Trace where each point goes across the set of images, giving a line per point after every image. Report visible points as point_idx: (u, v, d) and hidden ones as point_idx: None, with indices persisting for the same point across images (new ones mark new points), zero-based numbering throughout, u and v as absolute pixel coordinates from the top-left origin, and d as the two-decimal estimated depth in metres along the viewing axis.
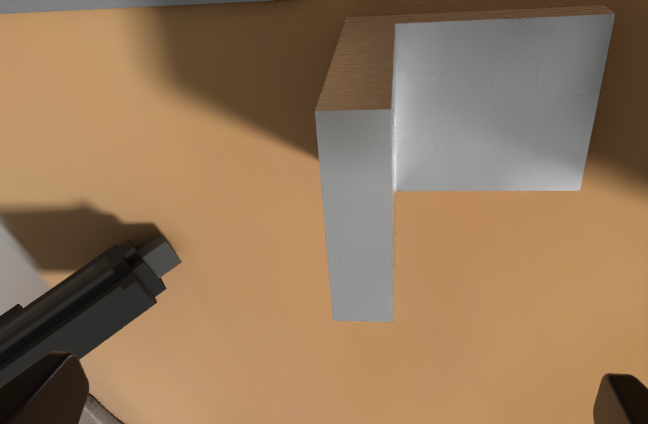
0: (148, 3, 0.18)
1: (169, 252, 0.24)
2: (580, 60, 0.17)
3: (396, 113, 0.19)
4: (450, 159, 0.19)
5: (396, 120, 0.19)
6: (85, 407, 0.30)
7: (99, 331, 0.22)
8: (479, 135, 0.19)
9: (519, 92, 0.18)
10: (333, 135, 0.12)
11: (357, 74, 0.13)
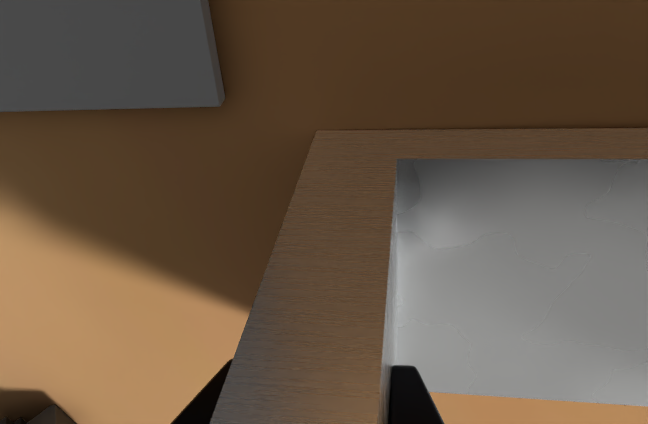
0: None
1: None
2: None
3: (398, 289, 0.11)
4: (486, 354, 0.12)
5: (398, 299, 0.11)
6: None
7: None
8: (537, 327, 0.11)
9: (612, 270, 0.10)
10: None
11: (303, 356, 0.06)
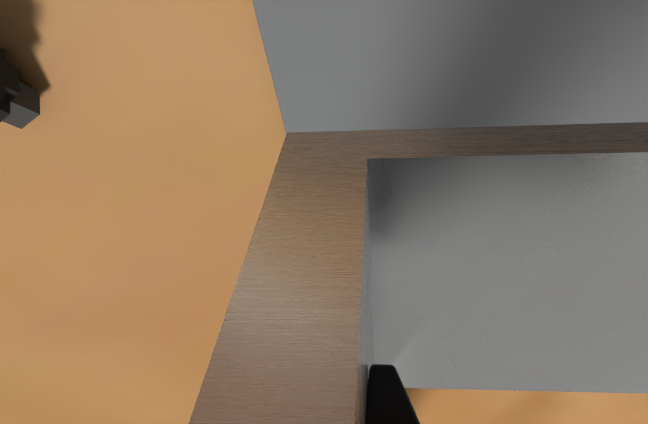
0: (283, 110, 0.21)
1: (28, 119, 0.22)
2: None
3: (372, 287, 0.11)
4: (460, 349, 0.12)
5: (373, 297, 0.11)
6: None
7: None
8: (508, 319, 0.12)
9: (577, 261, 0.11)
10: None
11: (280, 355, 0.06)
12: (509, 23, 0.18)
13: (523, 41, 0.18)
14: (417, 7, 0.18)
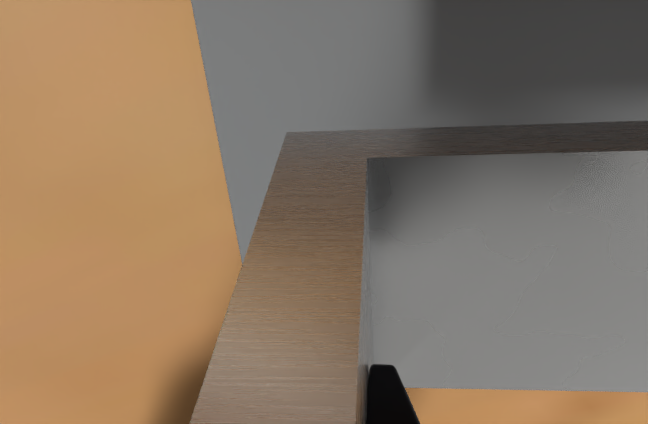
0: (227, 173, 0.18)
1: None
2: None
3: (372, 287, 0.11)
4: (460, 348, 0.12)
5: (373, 297, 0.11)
6: None
7: None
8: (508, 319, 0.12)
9: (578, 261, 0.11)
10: None
11: (280, 354, 0.06)
12: (501, 114, 0.15)
13: None
14: (396, 82, 0.15)
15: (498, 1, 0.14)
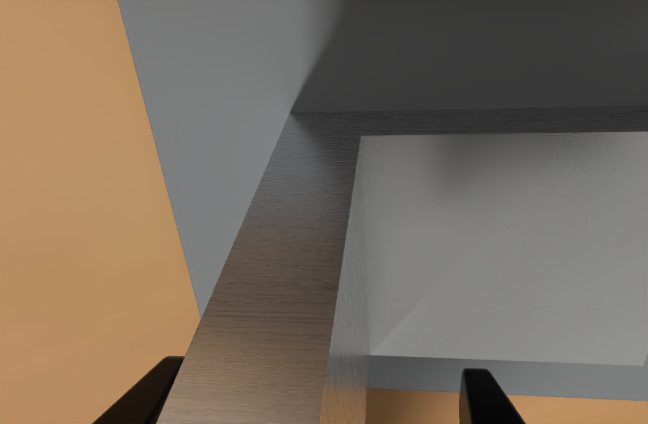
0: (186, 250, 0.14)
1: None
2: None
3: (367, 258, 0.12)
4: (449, 319, 0.13)
5: (367, 267, 0.12)
6: None
7: None
8: (493, 291, 0.12)
9: (557, 236, 0.11)
10: None
11: (270, 294, 0.07)
12: None
13: None
14: None
15: (527, 52, 0.11)
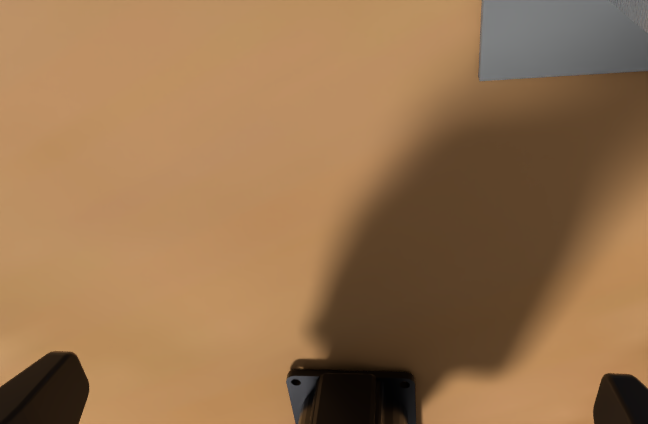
0: None
1: None
2: None
3: None
4: None
5: None
6: None
7: None
8: None
9: None
10: None
11: None
12: None
13: None
14: None
15: None
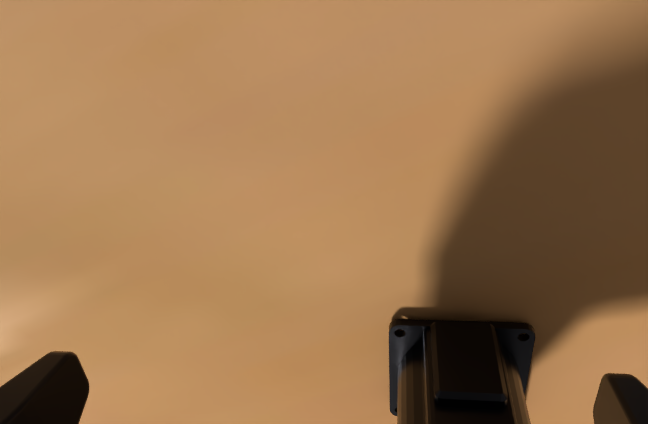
0: None
1: None
2: None
3: None
4: None
5: None
6: None
7: None
8: None
9: None
10: None
11: None
12: None
13: None
14: None
15: None
